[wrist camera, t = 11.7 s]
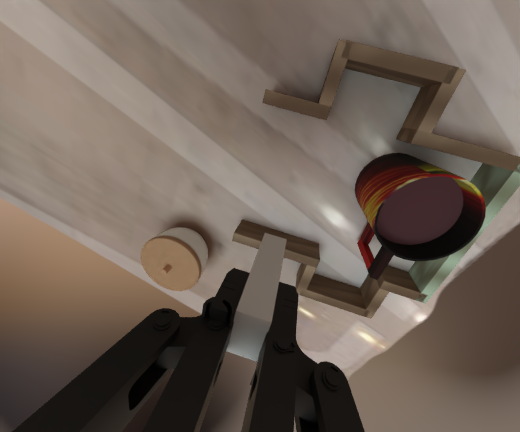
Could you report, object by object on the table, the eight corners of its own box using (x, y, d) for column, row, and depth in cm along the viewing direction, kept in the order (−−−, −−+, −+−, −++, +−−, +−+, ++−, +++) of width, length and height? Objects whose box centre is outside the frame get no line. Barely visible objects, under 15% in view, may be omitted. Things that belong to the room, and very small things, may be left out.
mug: (356, 241, 38) (373, 292, 27) (353, 158, 33) (374, 180, 22) (422, 238, 36) (470, 291, 25) (430, 147, 31) (495, 166, 20)
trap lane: (284, 38, 29) (279, 24, 24) (541, 101, 26) (588, 98, 22) (234, 254, 44) (225, 269, 40) (394, 306, 42) (404, 330, 37)
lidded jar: (226, 243, 44) (206, 274, 35) (198, 274, 48) (175, 308, 40) (181, 207, 42) (149, 230, 34) (157, 242, 47) (124, 270, 39)
